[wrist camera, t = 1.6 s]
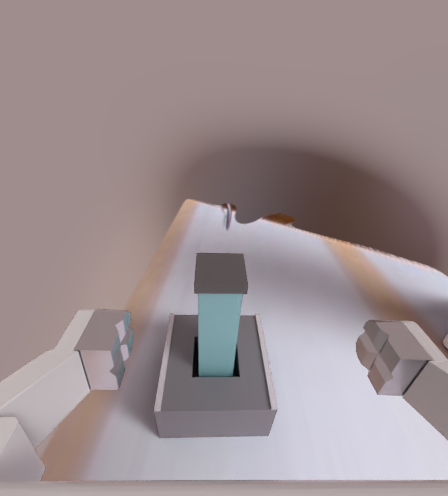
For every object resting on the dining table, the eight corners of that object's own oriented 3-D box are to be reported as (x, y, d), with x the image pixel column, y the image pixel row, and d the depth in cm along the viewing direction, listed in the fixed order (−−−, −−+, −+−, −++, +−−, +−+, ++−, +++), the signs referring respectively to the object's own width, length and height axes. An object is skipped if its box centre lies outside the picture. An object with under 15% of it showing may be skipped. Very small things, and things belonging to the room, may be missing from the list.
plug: (197, 363, 36) (196, 252, 25) (230, 363, 36) (243, 253, 26) (196, 397, 32) (194, 284, 22) (232, 396, 32) (248, 284, 22)
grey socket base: (172, 343, 39) (170, 313, 36) (254, 343, 40) (259, 314, 36) (159, 437, 29) (153, 409, 26) (268, 435, 30) (277, 408, 26)
